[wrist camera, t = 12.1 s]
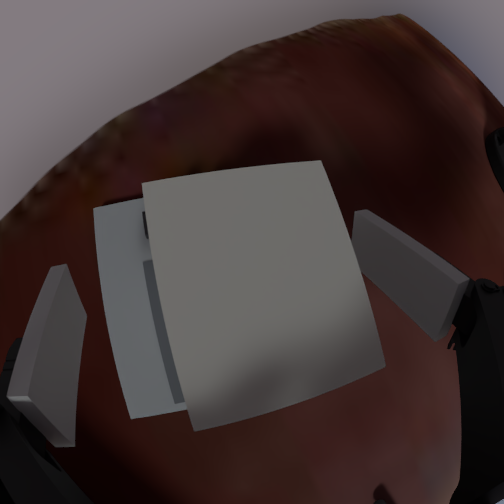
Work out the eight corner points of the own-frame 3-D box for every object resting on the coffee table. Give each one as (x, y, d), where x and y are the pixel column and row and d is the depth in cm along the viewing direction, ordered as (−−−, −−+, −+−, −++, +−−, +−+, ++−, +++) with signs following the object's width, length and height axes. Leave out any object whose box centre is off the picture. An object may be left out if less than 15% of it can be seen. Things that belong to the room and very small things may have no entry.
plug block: (246, 265, 20) (320, 160, 8) (270, 356, 18) (386, 366, 7) (169, 280, 18) (141, 183, 7) (191, 376, 17) (194, 431, 6)
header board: (281, 182, 23) (285, 175, 22) (333, 363, 20) (341, 363, 19) (97, 214, 20) (93, 207, 19) (133, 415, 16) (130, 419, 15)
